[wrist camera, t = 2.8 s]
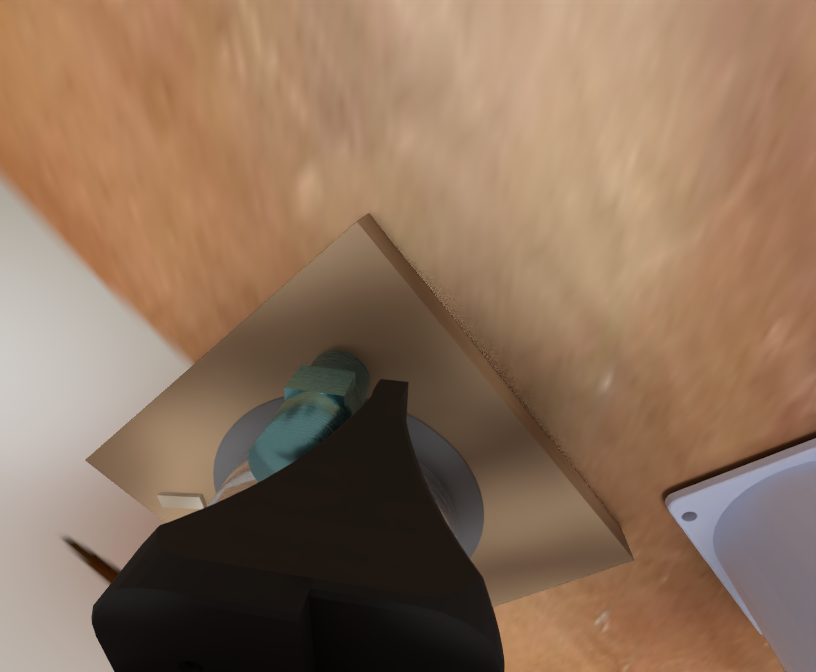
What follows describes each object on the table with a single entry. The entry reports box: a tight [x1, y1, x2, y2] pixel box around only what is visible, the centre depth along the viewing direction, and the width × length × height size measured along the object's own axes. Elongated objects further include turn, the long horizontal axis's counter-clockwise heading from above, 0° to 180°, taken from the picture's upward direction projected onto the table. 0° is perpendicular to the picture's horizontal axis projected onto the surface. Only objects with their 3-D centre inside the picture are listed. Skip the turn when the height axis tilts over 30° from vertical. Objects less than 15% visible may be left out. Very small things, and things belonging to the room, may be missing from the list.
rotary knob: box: [207, 350, 457, 539], centre depth 13 cm, size 12×9×4 cm
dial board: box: [86, 213, 634, 607], centre depth 17 cm, size 16×16×2 cm
